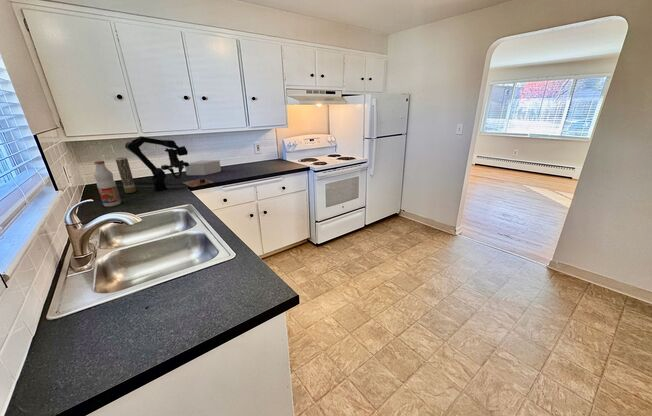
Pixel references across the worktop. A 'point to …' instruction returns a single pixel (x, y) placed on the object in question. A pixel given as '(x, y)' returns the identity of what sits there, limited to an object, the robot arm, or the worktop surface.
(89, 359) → the worktop surface
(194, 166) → the block
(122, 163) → the paper tube
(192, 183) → the face board
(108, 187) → the fruit juice
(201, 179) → the eye
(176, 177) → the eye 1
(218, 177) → the worktop surface
